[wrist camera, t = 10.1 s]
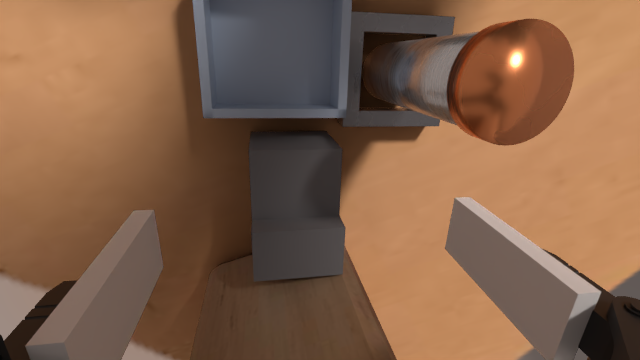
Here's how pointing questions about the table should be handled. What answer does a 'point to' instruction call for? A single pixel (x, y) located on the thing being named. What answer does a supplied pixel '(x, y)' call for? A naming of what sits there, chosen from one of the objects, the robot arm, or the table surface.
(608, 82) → the table surface
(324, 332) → the block
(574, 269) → the robot arm
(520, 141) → the pin
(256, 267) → the dark grey stepped piece
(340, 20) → the tray
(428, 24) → the socket
